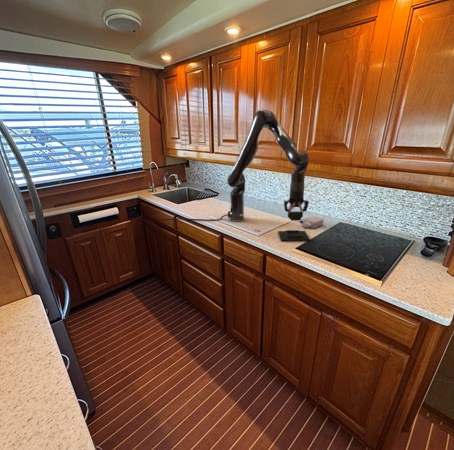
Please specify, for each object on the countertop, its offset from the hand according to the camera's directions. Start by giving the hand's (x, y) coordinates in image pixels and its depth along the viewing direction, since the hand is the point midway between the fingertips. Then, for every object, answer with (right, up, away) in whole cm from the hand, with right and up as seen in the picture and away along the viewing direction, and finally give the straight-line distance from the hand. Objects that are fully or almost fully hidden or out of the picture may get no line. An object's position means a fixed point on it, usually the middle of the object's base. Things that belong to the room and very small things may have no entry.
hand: (294, 217), depth 137 cm
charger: (+15, -5, +19) cm, 24 cm away
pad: (0, 0, 0) cm, 0 cm away
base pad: (0, -11, +4) cm, 12 cm away
